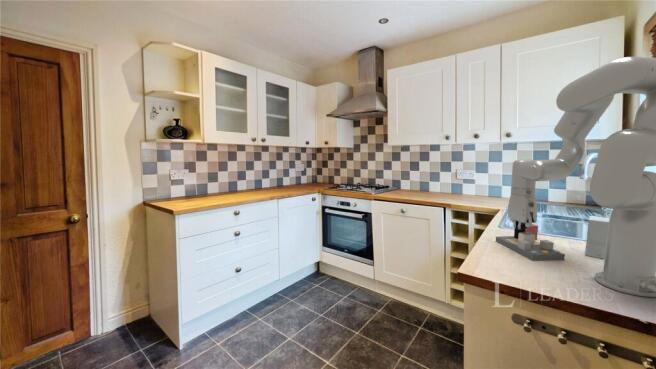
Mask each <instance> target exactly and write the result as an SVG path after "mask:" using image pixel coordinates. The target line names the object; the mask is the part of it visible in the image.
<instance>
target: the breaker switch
mask: <svg viewBox="0 0 656 369" xmlns="http://www.w3.org/2000/svg"><path fill="white" fill-rule="evenodd" d="M522 240H525V241H527V242H530V243H531V244H534V243H535V242H536V240H535V235H533V234H532V233H531V232H522V233H519V236H518V241H522Z"/></svg>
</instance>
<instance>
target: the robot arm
mask: <svg viewBox="0 0 656 369" xmlns="http://www.w3.org/2000/svg"><path fill="white" fill-rule="evenodd" d="M617 94H631V95H632V94H635V95H636V94H638V95H639V94H640V95H644V96H645V99H644V100H643V101H642V102H641V104H640V105H639V107H638V109H637V110H636V113H635V116H634V120H633V123H632V127H631V128H625V129H621V130H618V131H616V132H613V133H612V134H610V135H609V136H608V137H606V138H605V140H604V141H603V142H602V144H601V145H600V146H599V149H598V153H597V156H596V158H595V159H596V160H595V163H594V164H595V165H594V167H593V172H592V175H591V179H590V184H589V193H590V196H591V199H592V201H594V202H595V203H596V204H597V205H598V206H599V207H603V208H604V209H609V210H612V211H611V212H610V216H609V218H610V219H609V226H608V234H607V242H606V251H605V259H603V260H604V261H603V270H602V271H598V272H597V273H596V272H595V274H594V279H595V281H596V282H598V283H599V284H601V285H603V286H605V287H607V288H609V289H612V290H615V291H618V292H621V293H625V294H629V295H632V296H638V297H639V296H640V297H645V298H646V297H647V298H656V172H654V171H649V170H645V168H646V167H647V168H648V167H656V57H644V56H625V57H620V58H617V59H614V60H612V61H609V62H607V63H605V64H603V65H601V66H599V67H598V68H595V69H594V70H591V71H590V72H588V73H585V74H584V75H582V76H580V77H578V78H577V79H575V80H572V81H571V82H570V83H568V84H566V85H565V86H564V87H563V88H562V89H561V90H560V92H559V93H558V94H557V97H556V99H555V102H556V103H555V104H556V107H557V108H558V109H559V110H560V111H562V112H564V113H563V115H562V116H561V118H560V119H559V120H558V122H557V123H556V125H555V126H554V128H553V133H554V134H555V135H556V136H558V138H560V139H561V140H562V145H561V146H562V147H561V149H560V151H559V152H558V154H557V155H556V157H555V158H554V159H536V160H534V159H516V160H514V161H513V162H512V169H511V170H512V171H511V183H510V184H511V185H510V195H509V201H508V206H507V216H508V218H509V221H510V222H512V223H513V228H514V229H513V230H514V232H513V236H514V238H516V239H518V236H519V233H522V232H525V230H526V229H527V227H532V224H536V223H537V221H538V203H537V197H536V194H535V193H536V185H537V184H536V182H550V181H562V180H564V179H566V178H567V177H569V176H570V175H571V174H572V173H573V172H574V170H575V169H576V168H577V166H578V165H579V164H580V163H581V161H582V160H583V157H584V153H585V149H586V143H585V142H586V141H585V140H586V138H587V136H589V134H590V132H591V131H592V130H593V128H594V127H595V125H597V123H598V122H599V120H600V119H601V117H602V116H603V115H604V113H605V112H606V111H607V109H608V108H609V107H610V105H611V104H612V102H613V101H614V98H615V95H617Z"/></svg>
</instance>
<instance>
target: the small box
mask: <svg viewBox="0 0 656 369" xmlns="http://www.w3.org/2000/svg"><path fill="white" fill-rule="evenodd" d="M609 219H610V217H604V216H603V217H601V216H595V215H590V216H589V218H588V221H587V222H588V223H587V232H586V242H585V243H586V244H585V251H584V252H585V253H584V255H585V256H587V257H593V258H597V259H602V260H605V251H606V242H607V234H608V226H609Z"/></svg>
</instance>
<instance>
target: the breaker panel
mask: <svg viewBox="0 0 656 369" xmlns="http://www.w3.org/2000/svg"><path fill="white" fill-rule="evenodd" d="M495 242H497V243H498V244H500V245H502V246H504V247H506V248H508V249H509V250H511V251H514V252H515V253H517V254H519V255H521V256H523V257H525V258H527V259H528V260H531V261H532V262H533V261H534V262H535V261H564V260H565V258H566V257H565V255H566V254H564V253H563V252H561V251H560V250H557V249H554V242H552V241H550V240H548V239H540V241H539V242H538V241H535V243H534V244H531V243H530V242H527V241H525V240H522V241H518V239H516V238H514V235H509V236H508V235H507V236H505V235H504V236H503V235H502V236H501V235H500V236H495Z"/></svg>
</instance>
